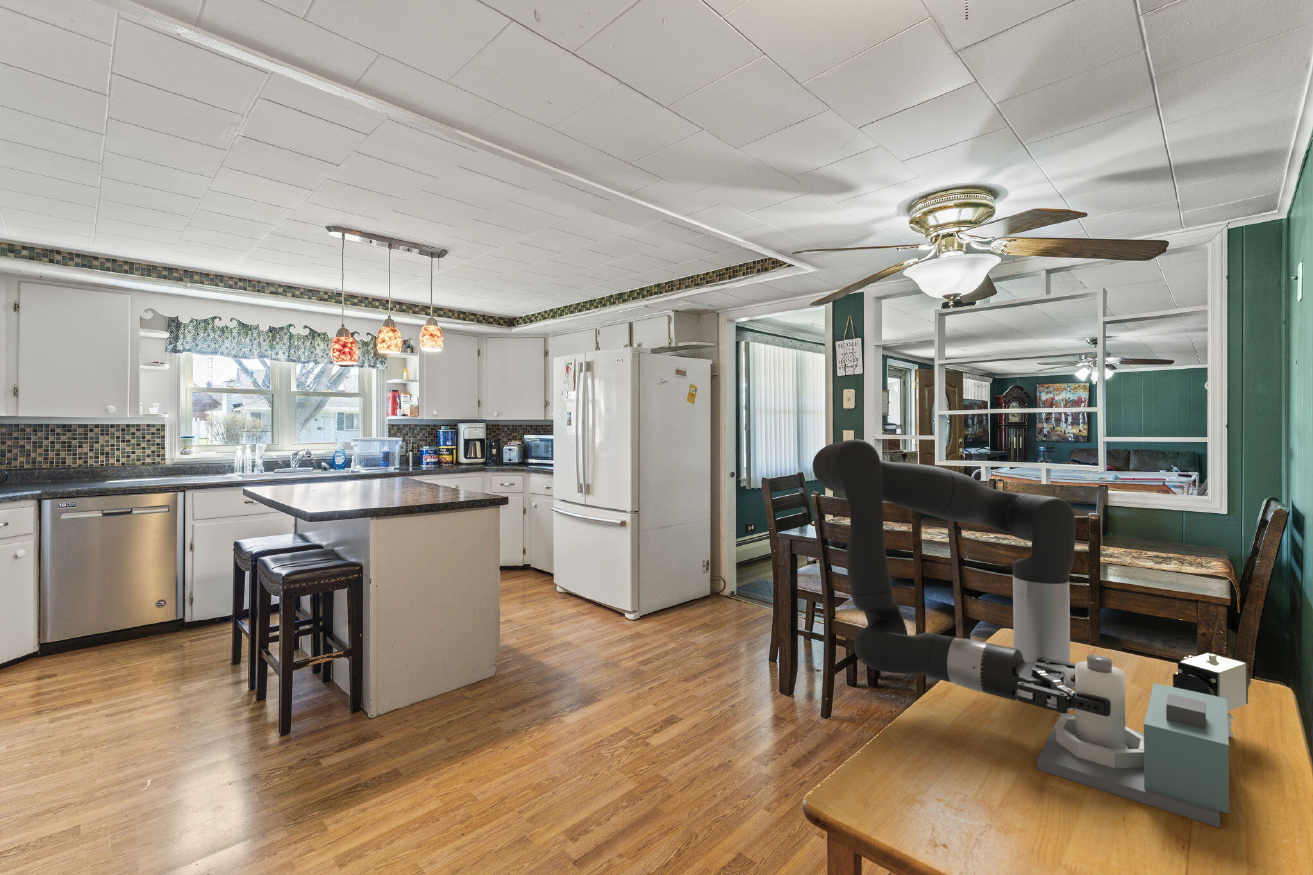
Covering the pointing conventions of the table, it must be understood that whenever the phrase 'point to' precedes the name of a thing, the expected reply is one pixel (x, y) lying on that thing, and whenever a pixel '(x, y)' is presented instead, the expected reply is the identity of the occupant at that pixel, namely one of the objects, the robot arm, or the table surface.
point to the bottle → (1105, 683)
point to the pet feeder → (1155, 756)
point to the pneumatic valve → (1215, 679)
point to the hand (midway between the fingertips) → (1114, 697)
